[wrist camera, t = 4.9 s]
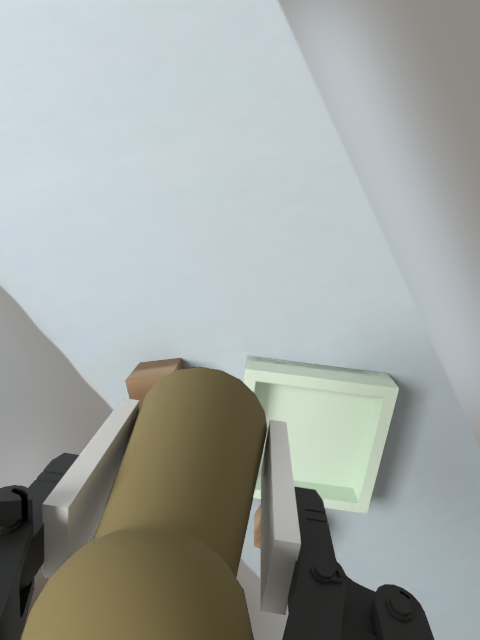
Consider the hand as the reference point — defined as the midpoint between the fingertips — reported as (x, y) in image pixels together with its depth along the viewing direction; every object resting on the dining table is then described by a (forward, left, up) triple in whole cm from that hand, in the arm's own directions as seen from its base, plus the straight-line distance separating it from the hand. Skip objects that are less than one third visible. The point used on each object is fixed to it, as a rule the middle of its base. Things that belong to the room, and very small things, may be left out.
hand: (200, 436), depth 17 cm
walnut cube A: (+6, -6, -18) cm, 20 cm away
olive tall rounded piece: (0, 0, 0) cm, 1 cm away
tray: (+9, +8, -17) cm, 21 cm away
